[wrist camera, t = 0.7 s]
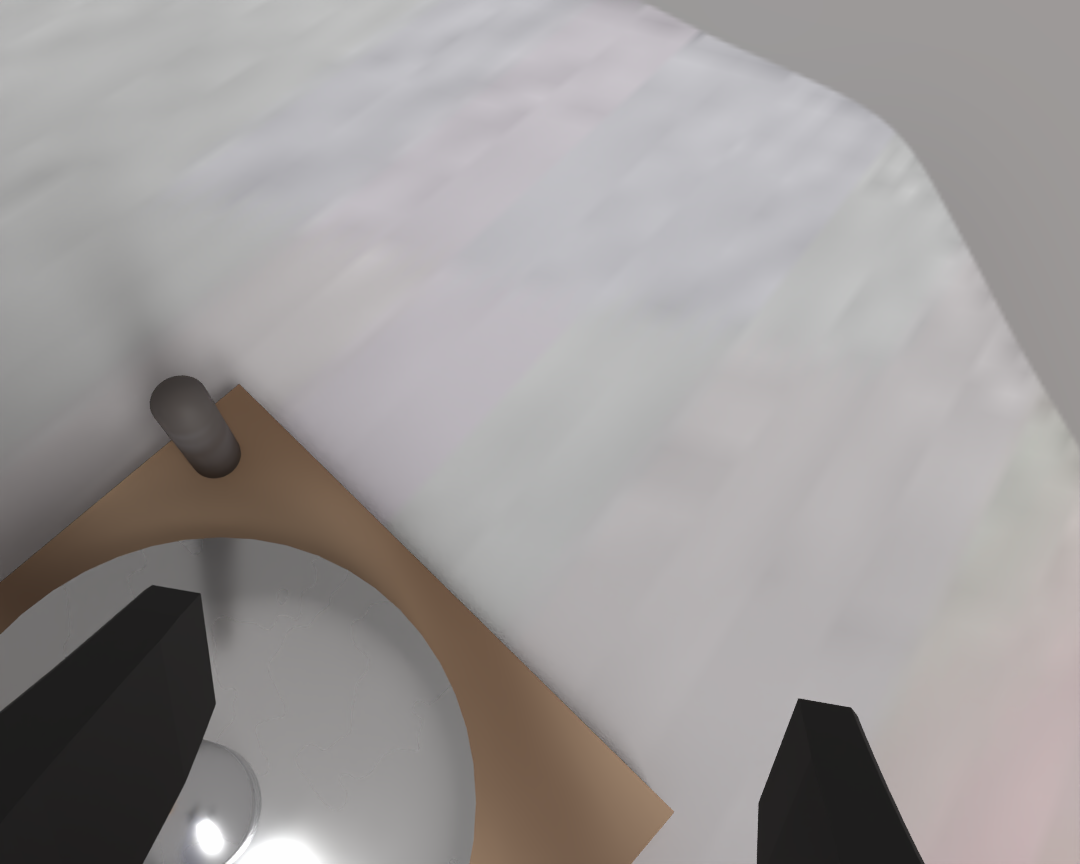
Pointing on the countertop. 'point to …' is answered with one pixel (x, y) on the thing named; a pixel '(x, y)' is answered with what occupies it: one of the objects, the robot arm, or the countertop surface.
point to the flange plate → (286, 709)
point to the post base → (383, 562)
